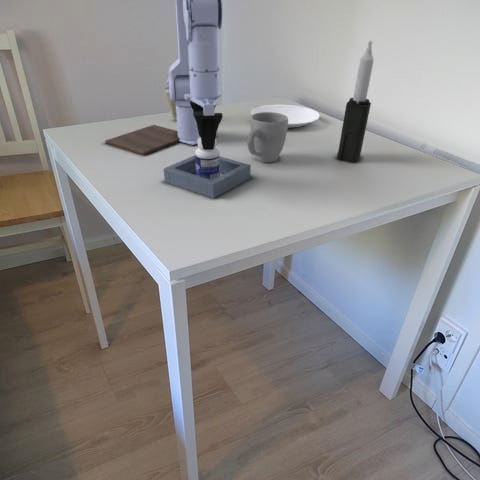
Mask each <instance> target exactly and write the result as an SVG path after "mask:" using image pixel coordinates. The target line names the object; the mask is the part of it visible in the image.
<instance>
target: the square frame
mask: <svg viewBox="0 0 480 480" xmlns="http://www.w3.org/2000/svg"><path fill="white" fill-rule="evenodd" d="M251 169H252V165H251V164H248V163H245V162H241V161H238V160H235V159H231V158H228V157H224V156H220V176H219V177H217V178H215V179H213V180H210V179H206V178H203V177H200V176H197V175H196V174H194V173H196V160H195V154H194V155H191V156H190V157H188V158H184V159H183V160H180V161H178V162H176V163H173V164H171V165H169V166H166V167H164V168H163V178H164V182H165V183H167V184H170V185H173V186H175V187H179V188H181V189H184V190H187V191H190V192H193V193H195V194H196V193H197V194H199V195H202V196H205V197H208V198H211V199H215V198H217V197H218V196H220V195H222V194H224V193H226V192H227V191H229V190H231V189H233V188H235V187H236V186H238V185H241V184H242V183H244V182H246V181H248V180H249V179H251Z"/></svg>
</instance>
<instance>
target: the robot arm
mask: <svg viewBox="0 0 480 480" xmlns="http://www.w3.org/2000/svg"><path fill="white" fill-rule="evenodd" d="M174 2H175V3H174V5H175V22H176V36H177V50H178V51H177V53H178V58H177V59H176V60H175V61H174V62H173V63H171V64H172V65H171V64H170V66H169V68H168V73H169V93H170V99H171V101H172V102H173V103H175V104H176V115H177V117H176V126H177V127H176V128H177V131H178V137H179V138H180V140H179V142H178V143H184V144H187V145H190V146H195V145H198V138H199V137H201V142H202V146H203V149H204V150H213V149H214V145H215V140H216V141H217V133H218V130H219V126H220V124H221V121H223V117H224V116H223V113H222V112H215V109H216V106H217V104H218V103H219V102H220V101H221V94H220V30H221V29H222V27H223V26H222V25H223V15H224V14H223V13H224V10H223V9H224V8H223V0H174Z"/></svg>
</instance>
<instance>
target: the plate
mask: <svg viewBox="0 0 480 480" xmlns="http://www.w3.org/2000/svg"><path fill="white" fill-rule="evenodd" d="M262 112H273V113H280V114H283V115H285V116H287V117H288V128H287V129H291V128H293V129H294V128H300V127H304V126H306V125H308V124H310V123H312V122H315V121H317V120H319V119H320V113H319V112H317V111H316V110H315V109H312V108H309V107H307V106H301V105H293V104H281V103H280V104H277V103H276V104H275V103H274V104H266V105H261V106H257V107H255V108H252V109H251V110H250V115H251V116H252V115H254V114H256V113H262Z"/></svg>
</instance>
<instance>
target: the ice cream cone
mask: <svg viewBox="0 0 480 480" xmlns="http://www.w3.org/2000/svg"><path fill="white" fill-rule="evenodd" d="M172 64H173V63H170V66H171V65H172ZM163 85H164V86H163V87H165V88H164V90H163V92H164V94H165V97H166V100H167V103H168V106H169V110H170V112H171V115H172V118H173V121H174V122H177V115H176V104H175V103H173V102H172V101H171V99H170V93H169V72H168V73H167V79H166V80H165V81H164V84H163Z"/></svg>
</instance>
